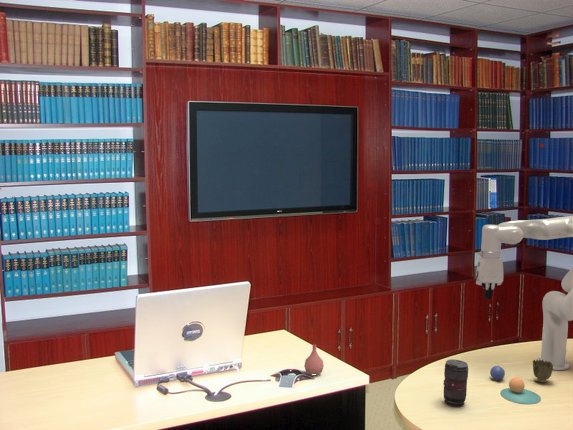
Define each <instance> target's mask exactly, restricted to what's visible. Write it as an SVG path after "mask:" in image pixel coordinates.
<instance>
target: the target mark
mask: <svg viewBox="0 0 573 430" xmlns="http://www.w3.org/2000/svg"><path fill="white" fill-rule="evenodd" d="M499 394H500V396H501V397H502V398H503V399H505V400H507V401H509V402H513V403H516V404H521V405H535V404H538V403H540V402H541V400H542V398H541V396H540V395H539V394H538V393H536V392H534V391H532V390H530V389H529V390H528V389H525V388H524V390H523V391H522V392H520V393H515V392H513V391H512V390H511V389H510V387H508V388H502V389H501V390H500V393H499Z"/></svg>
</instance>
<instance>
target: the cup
mask: <svg viewBox="0 0 573 430" xmlns="http://www.w3.org/2000/svg"><path fill="white" fill-rule="evenodd" d="M552 369H553V365H552V363H551V362H550V361H549V362H547V360H546V361H545V362H544V361H543V360H542V361H541V360H539V361H538V360H537V359H533V360H532V370H533V371H532V373H533V375H534V376H535V378H536V382H538V383H539V384H546V383H547V382H548V379H550V378H551V376H552V372H553V370H552Z"/></svg>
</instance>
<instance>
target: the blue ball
mask: <svg viewBox="0 0 573 430" xmlns="http://www.w3.org/2000/svg"><path fill="white" fill-rule="evenodd" d="M489 374H490V376H491V378H492V379H493V380H495V381H501V380H503V379H504V378H505V375H506V372H505V370H504V367H502V366H500V365H495V366H492V367H491V368H490V371H489Z"/></svg>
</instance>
